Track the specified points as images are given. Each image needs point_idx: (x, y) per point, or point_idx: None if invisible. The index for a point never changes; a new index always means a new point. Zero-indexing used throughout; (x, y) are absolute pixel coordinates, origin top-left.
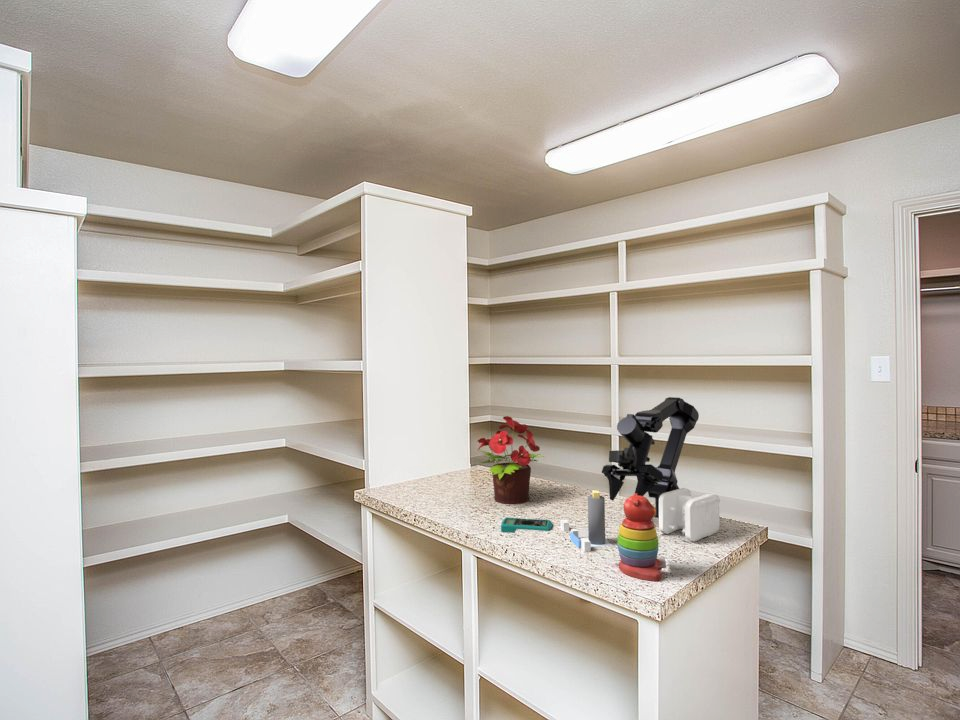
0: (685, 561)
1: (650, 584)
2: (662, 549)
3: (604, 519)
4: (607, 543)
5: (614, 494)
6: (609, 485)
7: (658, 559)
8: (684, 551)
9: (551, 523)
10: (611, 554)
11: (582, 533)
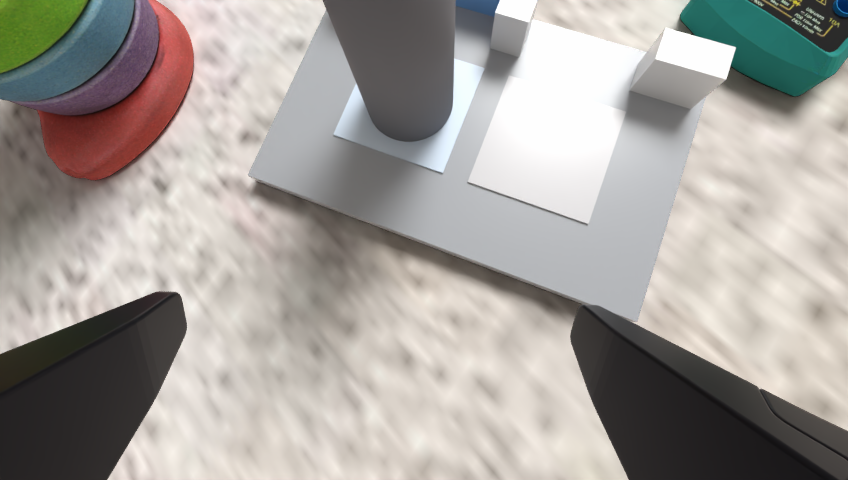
0: (39, 312)
1: None
2: (189, 350)
3: (337, 34)
4: (362, 129)
5: (608, 388)
6: (801, 410)
7: (61, 157)
8: None
9: (773, 49)
10: None
11: (555, 122)
